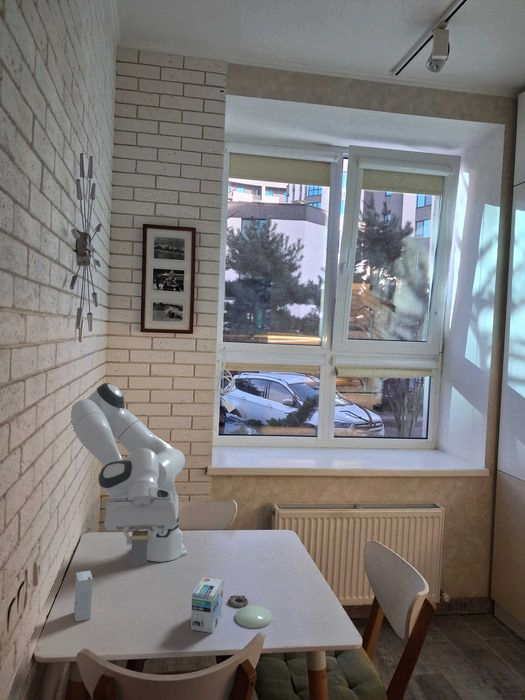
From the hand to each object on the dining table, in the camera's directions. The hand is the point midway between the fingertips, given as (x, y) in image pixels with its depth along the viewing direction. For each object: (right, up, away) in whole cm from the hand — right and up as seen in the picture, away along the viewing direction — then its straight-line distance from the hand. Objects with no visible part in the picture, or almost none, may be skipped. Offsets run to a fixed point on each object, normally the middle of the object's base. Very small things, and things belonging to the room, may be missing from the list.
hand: (139, 543), depth 148 cm
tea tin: (0, -5, +1) cm, 5 cm away
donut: (+26, -26, +18) cm, 41 cm away
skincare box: (-18, -24, +8) cm, 31 cm away
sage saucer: (+32, -26, +10) cm, 42 cm away
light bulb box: (+18, -26, +7) cm, 32 cm away
